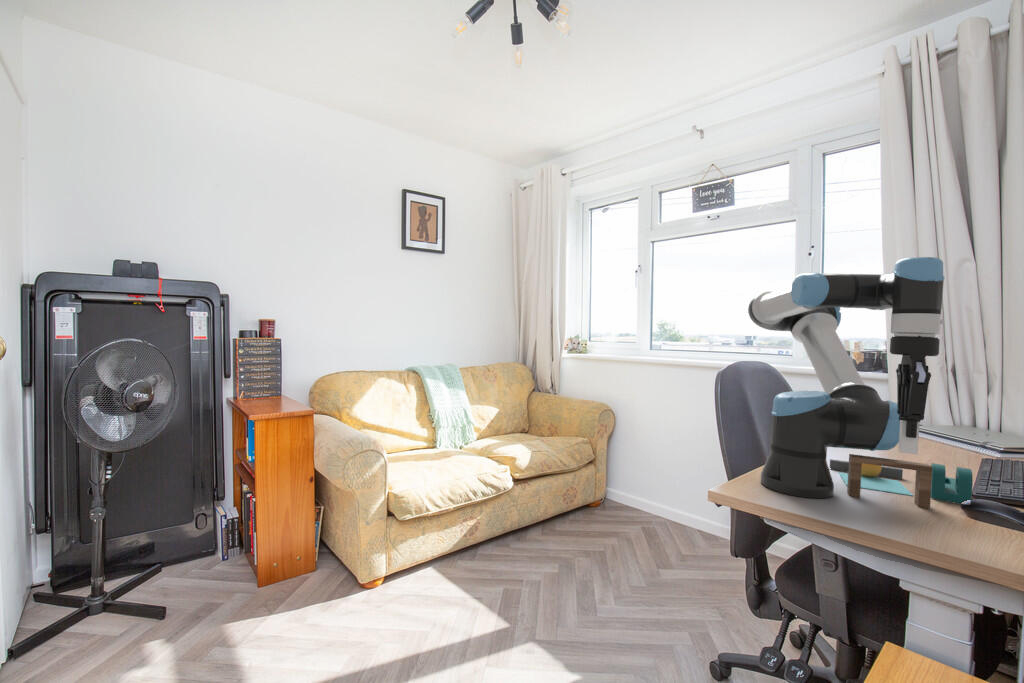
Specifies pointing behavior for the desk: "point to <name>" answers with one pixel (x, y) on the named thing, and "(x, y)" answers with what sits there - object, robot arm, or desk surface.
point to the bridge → (922, 469)
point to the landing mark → (879, 484)
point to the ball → (870, 470)
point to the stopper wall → (884, 472)
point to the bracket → (951, 484)
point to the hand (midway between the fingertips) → (907, 452)
